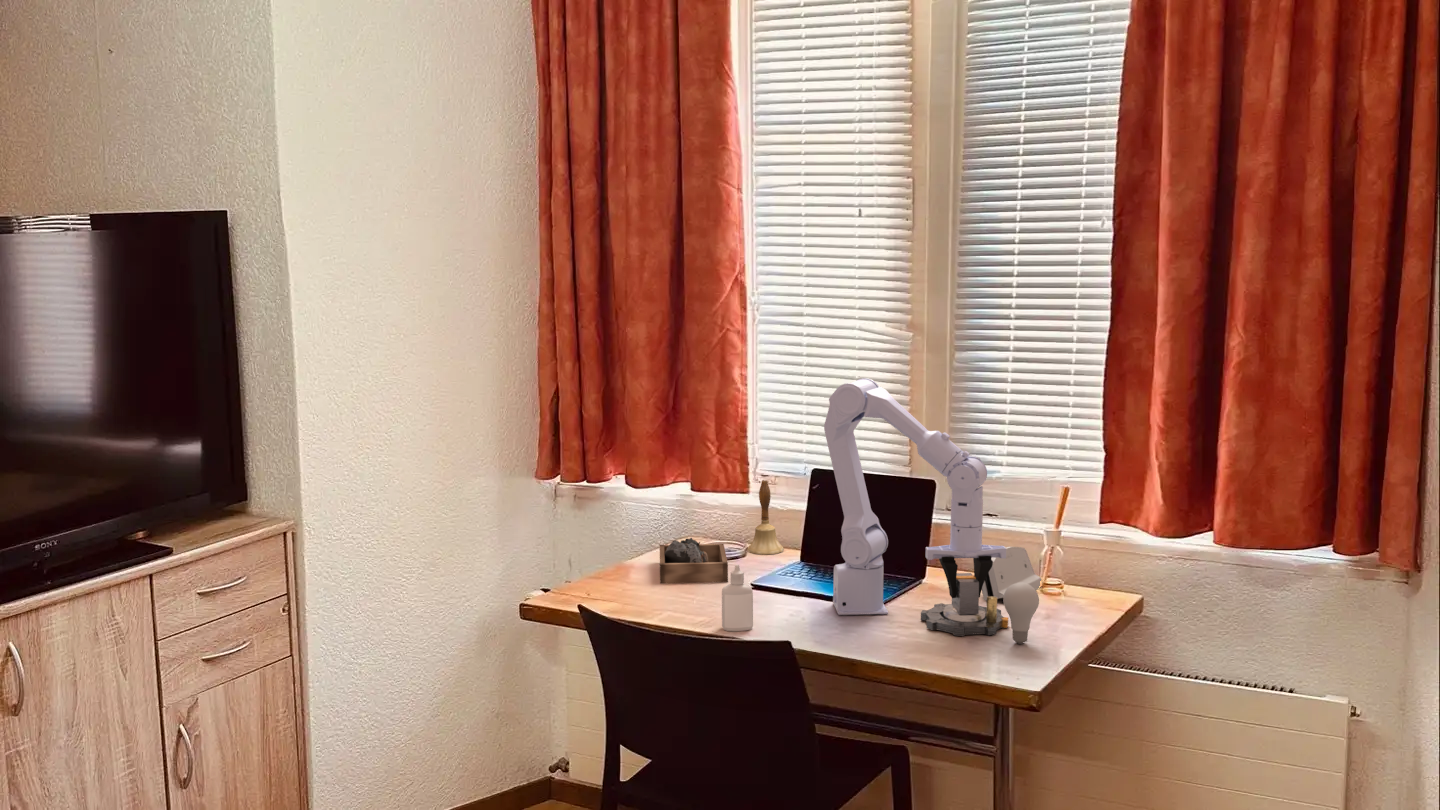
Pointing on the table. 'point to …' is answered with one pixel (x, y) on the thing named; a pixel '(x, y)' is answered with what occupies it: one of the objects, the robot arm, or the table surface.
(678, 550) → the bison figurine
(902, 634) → the table surface
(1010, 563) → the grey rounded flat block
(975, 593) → the marked link
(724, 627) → the eye dropper bottle
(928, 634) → the table surface
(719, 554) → the open wooden box
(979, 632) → the sprocket
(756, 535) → the hand bell
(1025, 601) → the lightbulb
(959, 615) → the hub
